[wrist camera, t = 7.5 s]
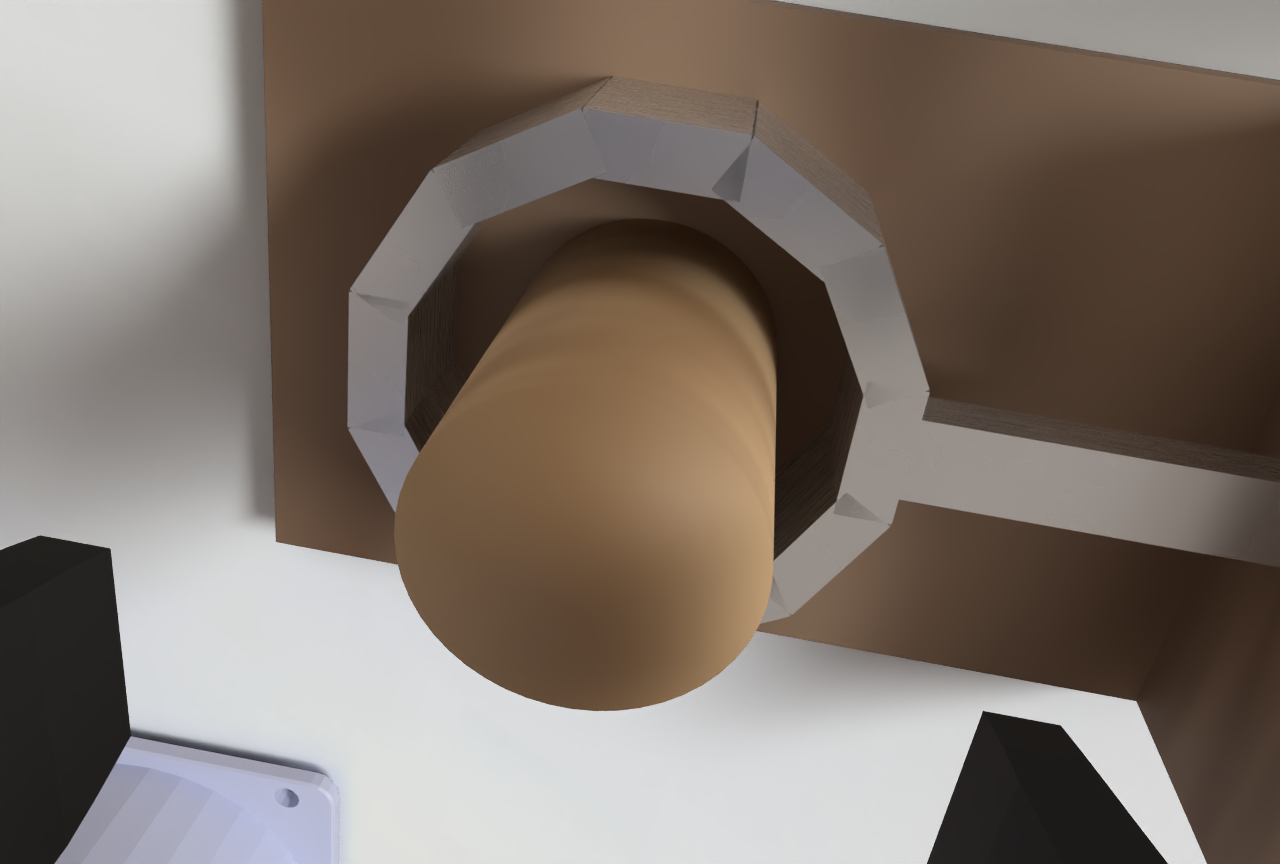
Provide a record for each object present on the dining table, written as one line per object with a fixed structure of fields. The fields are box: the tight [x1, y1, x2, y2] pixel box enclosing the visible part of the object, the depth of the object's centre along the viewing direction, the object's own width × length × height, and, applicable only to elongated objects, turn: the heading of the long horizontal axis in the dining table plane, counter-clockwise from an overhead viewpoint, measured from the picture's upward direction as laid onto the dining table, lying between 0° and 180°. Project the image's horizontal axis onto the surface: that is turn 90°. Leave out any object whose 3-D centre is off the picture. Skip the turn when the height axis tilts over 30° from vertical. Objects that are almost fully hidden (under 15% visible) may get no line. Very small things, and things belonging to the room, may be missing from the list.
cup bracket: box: [262, 0, 1280, 864], centre depth 14 cm, size 16×10×6 cm, turn 82°
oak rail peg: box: [394, 219, 777, 711], centre depth 14 cm, size 4×4×6 cm
